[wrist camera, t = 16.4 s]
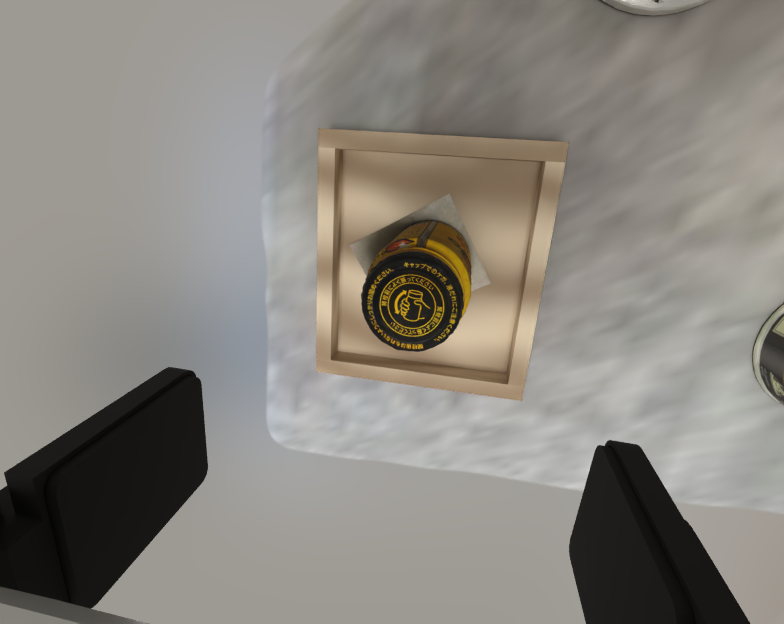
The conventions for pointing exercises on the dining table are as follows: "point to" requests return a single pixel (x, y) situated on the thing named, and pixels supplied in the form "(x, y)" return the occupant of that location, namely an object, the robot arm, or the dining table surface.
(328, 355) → the tray
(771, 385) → the coffee can
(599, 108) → the dining table surface
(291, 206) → the dining table surface
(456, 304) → the condiment
